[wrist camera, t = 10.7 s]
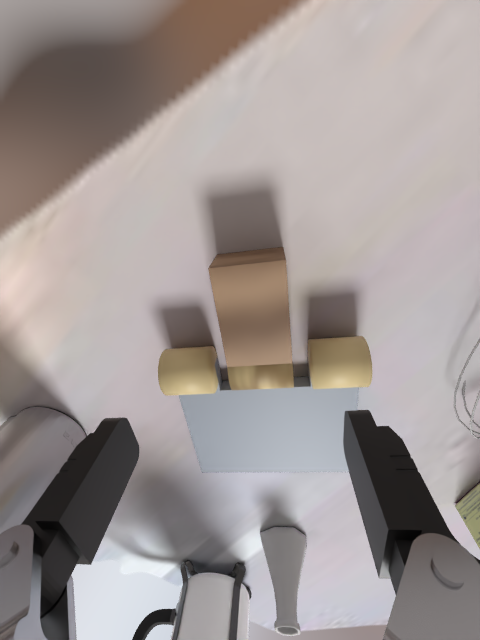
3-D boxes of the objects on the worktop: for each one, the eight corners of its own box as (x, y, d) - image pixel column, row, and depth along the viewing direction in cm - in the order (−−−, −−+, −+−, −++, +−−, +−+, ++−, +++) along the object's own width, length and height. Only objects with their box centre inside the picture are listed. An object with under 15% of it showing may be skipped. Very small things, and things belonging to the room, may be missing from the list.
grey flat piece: (349, 460, 34) (359, 497, 30) (204, 461, 36) (196, 496, 32) (357, 327, 25) (374, 354, 21) (169, 340, 28) (153, 367, 24)
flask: (314, 546, 43) (325, 641, 35) (270, 552, 45) (271, 643, 36) (297, 521, 41) (305, 617, 32) (252, 528, 43) (248, 621, 34)
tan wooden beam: (291, 367, 28) (294, 398, 24) (237, 370, 29) (232, 400, 25) (283, 246, 23) (286, 261, 19) (217, 254, 24) (207, 270, 20)
